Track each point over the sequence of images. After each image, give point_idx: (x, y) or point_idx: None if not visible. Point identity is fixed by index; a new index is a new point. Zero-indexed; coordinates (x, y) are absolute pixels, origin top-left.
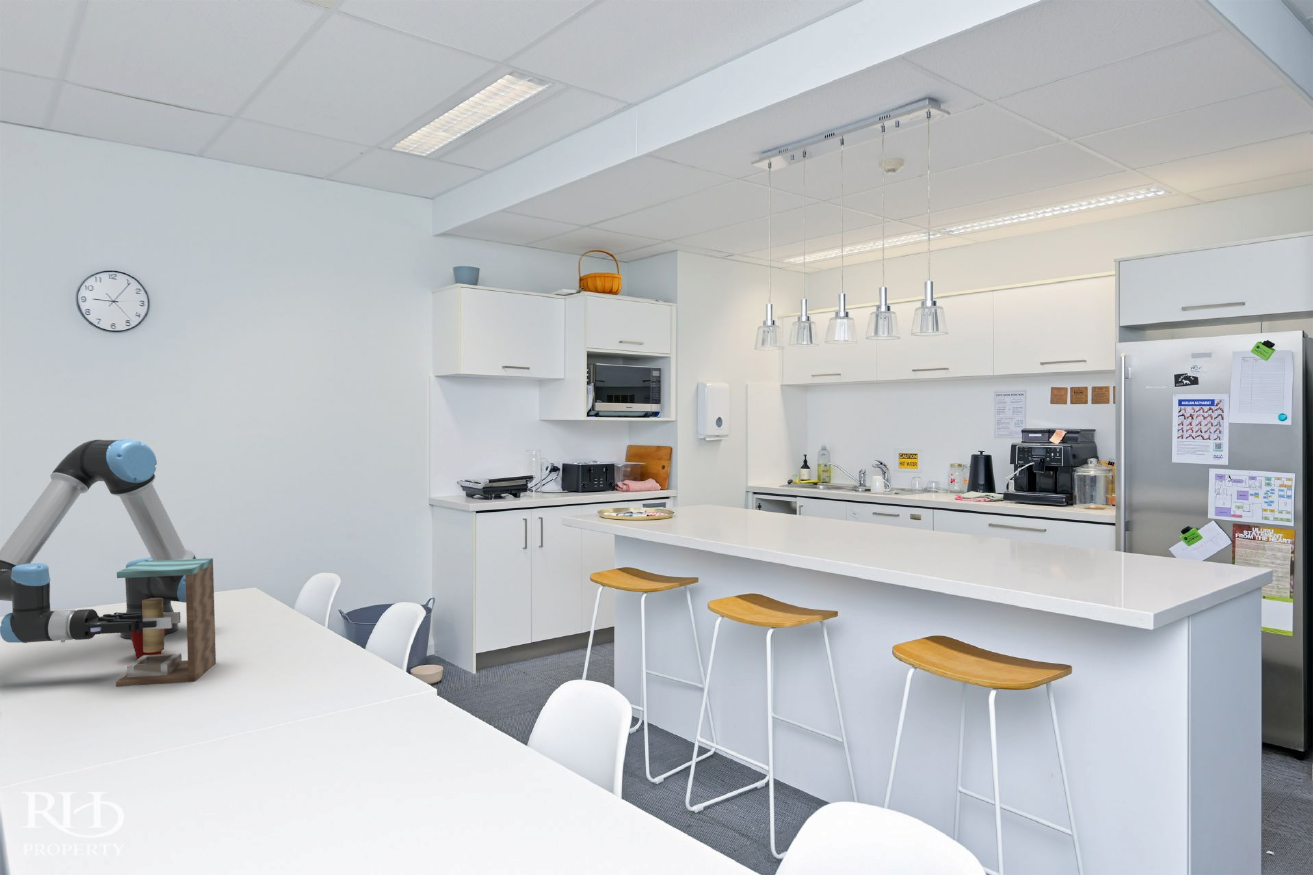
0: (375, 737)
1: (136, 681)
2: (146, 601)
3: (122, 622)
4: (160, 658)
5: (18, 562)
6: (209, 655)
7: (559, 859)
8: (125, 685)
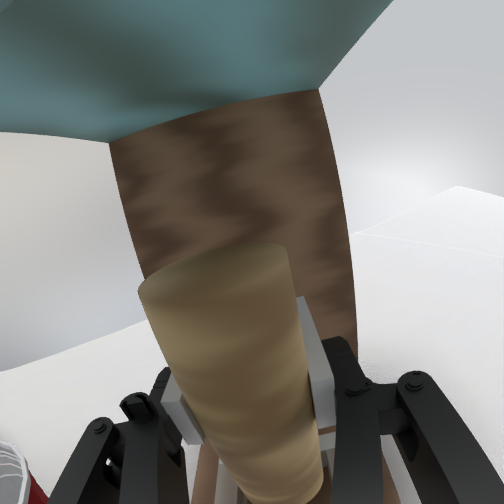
0: (438, 221)
1: (396, 495)
2: (266, 263)
3: (444, 441)
4: (239, 499)
5: None
6: None
7: (476, 190)
8: None
